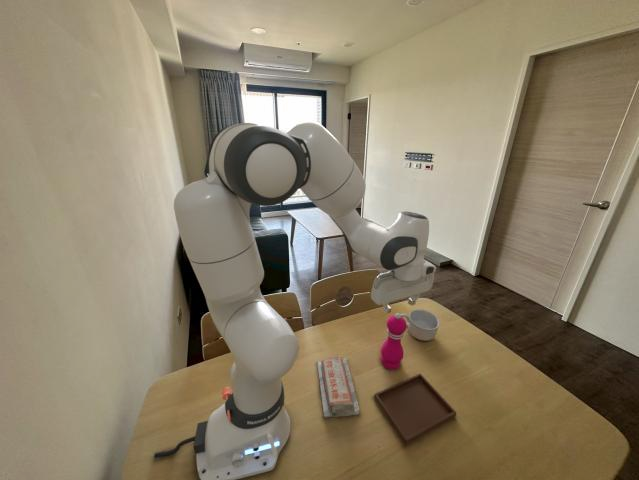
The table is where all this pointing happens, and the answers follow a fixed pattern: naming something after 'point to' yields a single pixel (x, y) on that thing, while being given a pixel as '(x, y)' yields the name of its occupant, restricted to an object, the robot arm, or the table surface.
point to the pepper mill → (393, 342)
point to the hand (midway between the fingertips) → (399, 307)
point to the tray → (414, 408)
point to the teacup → (422, 324)
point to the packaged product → (337, 388)
